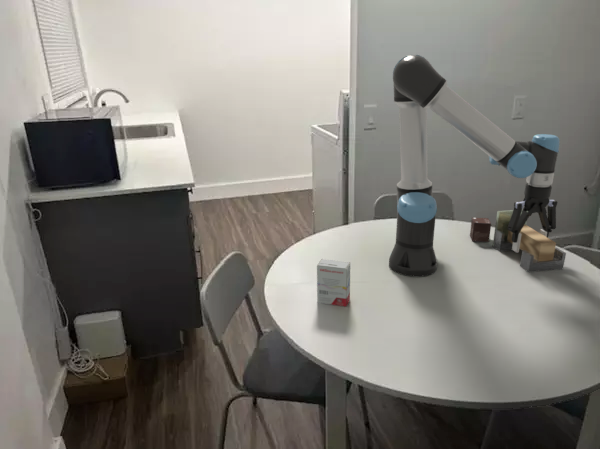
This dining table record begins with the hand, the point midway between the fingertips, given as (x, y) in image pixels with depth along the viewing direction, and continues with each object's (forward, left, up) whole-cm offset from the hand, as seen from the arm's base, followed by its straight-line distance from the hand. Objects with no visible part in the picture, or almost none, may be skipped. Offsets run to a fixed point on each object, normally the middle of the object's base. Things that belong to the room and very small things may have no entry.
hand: (527, 249), depth 156 cm
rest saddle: (0, -8, -3) cm, 8 cm away
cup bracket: (0, +9, -3) cm, 9 cm away
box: (-7, +19, -3) cm, 20 cm away
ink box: (-70, -16, -3) cm, 72 cm away
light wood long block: (0, 0, 0) cm, 0 cm away
